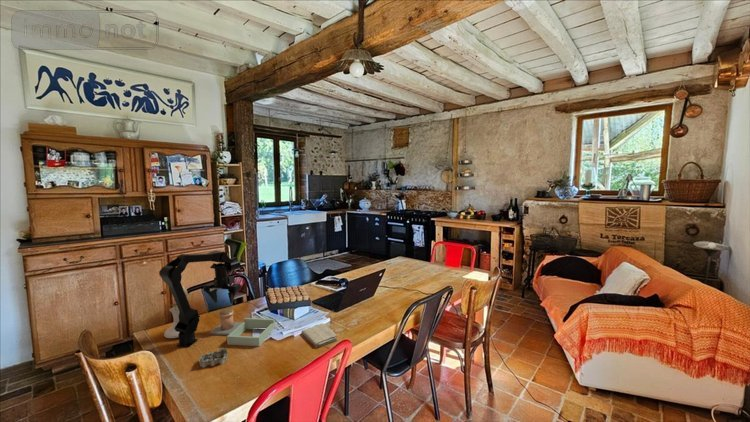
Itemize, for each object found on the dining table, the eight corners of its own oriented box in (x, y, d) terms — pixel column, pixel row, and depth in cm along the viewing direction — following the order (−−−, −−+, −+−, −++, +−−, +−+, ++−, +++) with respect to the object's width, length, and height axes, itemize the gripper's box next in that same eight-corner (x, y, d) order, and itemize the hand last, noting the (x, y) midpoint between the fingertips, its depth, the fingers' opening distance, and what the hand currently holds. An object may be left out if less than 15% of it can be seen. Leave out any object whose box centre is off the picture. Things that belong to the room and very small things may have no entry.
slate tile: (231, 335, 157) (231, 333, 157) (209, 334, 158) (209, 332, 158) (244, 324, 168) (244, 322, 168) (224, 323, 170) (223, 321, 170)
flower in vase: (178, 341, 152) (173, 291, 149) (158, 339, 154) (153, 290, 151) (198, 328, 165) (194, 282, 162) (179, 327, 167) (175, 281, 164)
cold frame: (259, 346, 146) (258, 334, 145) (227, 344, 148) (226, 333, 148) (274, 329, 162) (274, 319, 161) (245, 328, 164) (245, 317, 163)
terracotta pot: (229, 330, 159) (228, 315, 158) (217, 330, 160) (215, 315, 159) (237, 324, 166) (236, 309, 165) (225, 323, 167) (224, 309, 166)
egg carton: (229, 355, 140) (228, 346, 140) (226, 364, 133) (225, 355, 132) (202, 359, 137) (201, 350, 137) (197, 369, 130) (197, 360, 130)
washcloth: (316, 349, 143) (316, 343, 142) (300, 334, 157) (300, 328, 157) (339, 341, 150) (339, 334, 150) (321, 327, 164) (321, 321, 164)
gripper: (246, 270, 172) (248, 297, 173) (215, 269, 175) (218, 296, 177) (233, 277, 161) (236, 306, 163) (201, 276, 164) (204, 304, 166)
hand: (223, 303), depth 167 cm, fingers open, 9 cm apart
